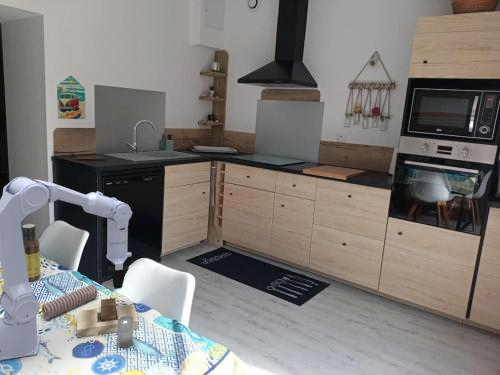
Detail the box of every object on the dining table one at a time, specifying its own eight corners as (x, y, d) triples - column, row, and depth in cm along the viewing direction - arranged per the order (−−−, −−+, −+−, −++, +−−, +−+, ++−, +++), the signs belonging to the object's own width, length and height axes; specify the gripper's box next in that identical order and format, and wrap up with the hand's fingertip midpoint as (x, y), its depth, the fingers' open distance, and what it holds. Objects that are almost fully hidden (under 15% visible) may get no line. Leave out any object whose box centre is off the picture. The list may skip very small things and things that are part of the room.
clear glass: (117, 349, 100) (118, 325, 98) (116, 340, 103) (117, 317, 102) (133, 346, 101) (134, 322, 100) (132, 338, 105) (132, 315, 104)
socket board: (77, 338, 103) (77, 329, 102) (78, 318, 112) (77, 311, 111) (137, 328, 109) (137, 321, 109) (134, 311, 118) (134, 304, 118)
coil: (48, 309, 108) (100, 286, 124) (38, 302, 111) (91, 281, 126) (47, 323, 110) (99, 299, 125) (38, 316, 112) (90, 293, 127)
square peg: (101, 328, 108) (101, 306, 107) (100, 321, 112) (100, 299, 110) (115, 326, 110) (116, 304, 108) (115, 319, 113) (115, 297, 112)
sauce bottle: (21, 275, 136) (19, 222, 132) (41, 273, 139) (39, 221, 135) (19, 283, 130) (16, 228, 126) (40, 281, 133) (38, 227, 129)
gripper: (134, 247, 108) (133, 291, 110) (129, 231, 121) (128, 271, 123) (107, 249, 105) (107, 294, 108) (105, 233, 118) (105, 273, 121)
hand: (117, 282), depth 115 cm, fingers open, 7 cm apart
